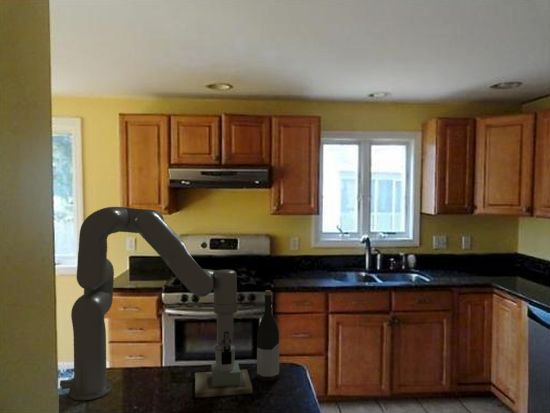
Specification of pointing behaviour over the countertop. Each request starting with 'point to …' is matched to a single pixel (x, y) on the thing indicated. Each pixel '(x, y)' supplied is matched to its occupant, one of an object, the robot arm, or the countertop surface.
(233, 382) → the sage block
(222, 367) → the grey tapered cup
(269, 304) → the wine bottle
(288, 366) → the countertop surface
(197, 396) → the board
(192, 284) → the robot arm
